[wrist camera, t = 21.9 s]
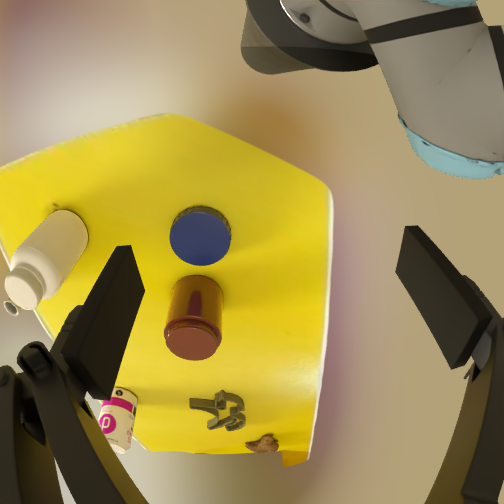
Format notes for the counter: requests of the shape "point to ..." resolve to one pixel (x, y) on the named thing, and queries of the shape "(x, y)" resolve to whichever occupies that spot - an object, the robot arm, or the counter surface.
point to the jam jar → (194, 318)
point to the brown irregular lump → (263, 445)
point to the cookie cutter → (221, 405)
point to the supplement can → (118, 419)
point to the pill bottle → (46, 259)
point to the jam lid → (200, 236)
